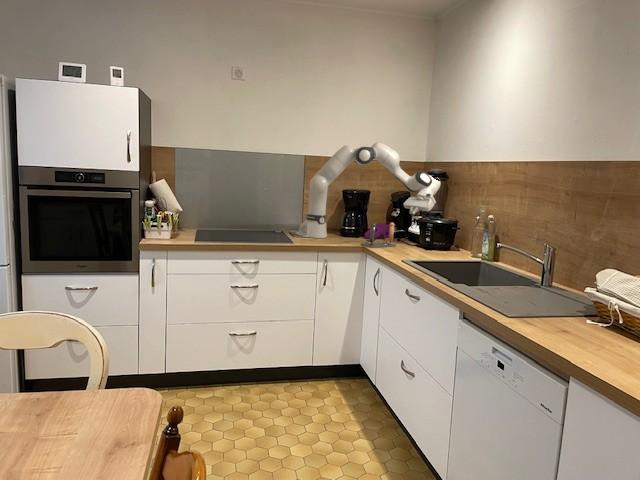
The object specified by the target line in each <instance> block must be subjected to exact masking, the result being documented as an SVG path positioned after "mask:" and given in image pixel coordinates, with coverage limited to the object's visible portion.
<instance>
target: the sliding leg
mask: <svg viewBox="0 0 640 480" xmlns="http://www.w3.org/2000/svg"><path fill="white" fill-rule="evenodd" d="M389 226H390V229H389V238H385V239H384V241H385V240H386V241H387V242H389V243H392V242H393V241H394V234H395V223H394V222H390V223H389Z"/></svg>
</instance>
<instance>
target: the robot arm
mask: <svg viewBox="0 0 640 480" xmlns="http://www.w3.org/2000/svg"><path fill="white" fill-rule="evenodd" d="M373 160H376V161H377V162H379V163H380V164H381V165H383V166H384V167H385V168H386V169H387V170H388V171H389V173H391V174H392V175H393V176H394V177H395V178H396V179H397V180H399V181H400V182H401V183H402V184H403V185H404V186H405V188H406V189H407V190H408V191H409V192H410V193H417V192H418V193H417V194H416V196H410V197H408V199H406V200H405V201H404V202H403V207H404V208H405V209H408V210H409V214H410V215H415V214H416V213H418V212H419V211H424V212H430V211H432V210H433V208H434V206H435V204H436V203H437V201H436V199H435V197H434V195H436V194H437V192H438V191H439V189H440V188H441V180H440V181H438V180H436V179H434V178H433V177H432V176H433V175H430V174H429V173H427V172H426V171H423V170H418V171H417V172H416V173H414V174H413V175H412V176H411V175H410V174H408V173H407V172H405V171H404V170H403V169H402V168H401V167H400V163H401V162H400V161H401V157H400V155H399V153H398V152H396V151H395V150H394V149H393V148H391V147H389V146H388V145H386V144H385V143H382V142H380V141H377V142H375V143H373V144H372V145H371V146H360V147H357V148H355V149H354V148H353V147H352V146H350V145H343V146H342V147H340V148H339V150H337V151H336V152H335V153H334V154H333V155H332V156H331V157H330V158H329V159H328V160H327V162H325V163H324V165H323V166H322V167H320V169H319V170H318V171H317V172H316V173H315V175H313V176H312V178H311V179H310V182H309V195H308V208H307V209H308V210H307V211H308V213H307V214H306V215H305V217H306V218H305V220H304V221H303V222H302V223H301V224H300V225H299V227H298V231H295V232H294V234H295V235H297V236H300V237H303V238H314V239H315V238H316V239H318V238H319V239H323V238H324V239H325V238H327V237H328V234H327V222H326V221H327V215H326V214H327V213H326V211H327V200H328V199H327V198H328V190H329V189H328V188H329V186H330V185H331V184H332V183H333V182H334V181H335V180H336V179H337V178H338V177H339V175H341V174H342V173H343V171H345V169H346V168H347V167H348V166H349V165H350V164H351V163H352V162H354V163H356V164H358V165H361V166H364V165H367V164H369V163H371V162H372V161H373Z"/></svg>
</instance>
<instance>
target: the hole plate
mask: <svg viewBox="0 0 640 480" xmlns="http://www.w3.org/2000/svg"><path fill="white" fill-rule="evenodd" d="M360 246H362V247H366V248H371V249H378V248H379V249H380V248H392V247H393V248H394V247H396V246H397V244H396V243H395V244H394V243H392V242H388V241H387V240H385V239H384V240H374V242H373V244H371V242H368V241H363V242H360Z"/></svg>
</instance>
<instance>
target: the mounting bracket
mask: <svg viewBox="0 0 640 480" xmlns="http://www.w3.org/2000/svg"><path fill="white" fill-rule="evenodd" d="M375 224H376V227H375V239H377V238H382V239H383V240H385V238H388V239H389V229H390V224H388V223H382V222H377V223H375ZM370 233H371V228H370V229H369V230H367V231H366V232H365V233H364V238H365V240H366V239H370Z"/></svg>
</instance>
